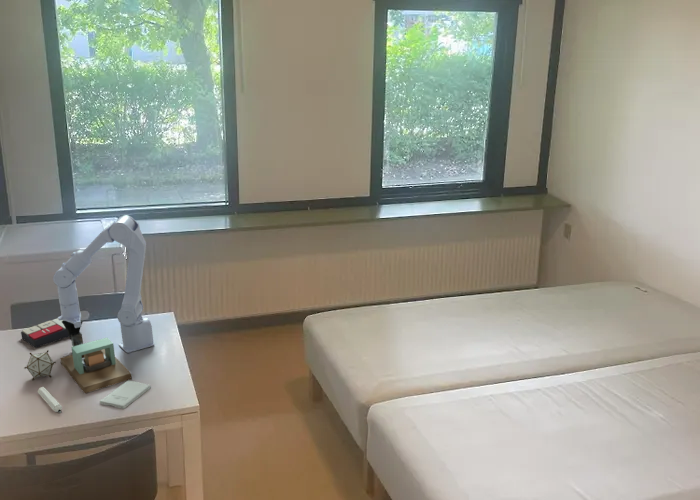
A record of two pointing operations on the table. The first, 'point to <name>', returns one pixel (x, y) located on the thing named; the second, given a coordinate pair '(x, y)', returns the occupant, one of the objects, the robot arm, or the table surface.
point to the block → (94, 358)
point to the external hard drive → (125, 394)
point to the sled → (78, 340)
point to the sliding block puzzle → (45, 333)
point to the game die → (40, 365)
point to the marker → (50, 399)
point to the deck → (96, 374)
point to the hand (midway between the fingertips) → (74, 340)
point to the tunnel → (90, 348)
